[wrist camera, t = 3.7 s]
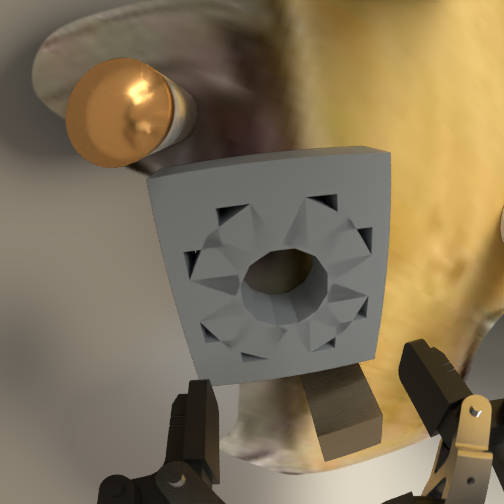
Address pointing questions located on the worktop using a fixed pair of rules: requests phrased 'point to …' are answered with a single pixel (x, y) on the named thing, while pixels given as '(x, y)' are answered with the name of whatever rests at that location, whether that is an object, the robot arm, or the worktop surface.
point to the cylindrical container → (502, 225)
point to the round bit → (127, 113)
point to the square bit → (343, 410)
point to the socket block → (273, 239)
